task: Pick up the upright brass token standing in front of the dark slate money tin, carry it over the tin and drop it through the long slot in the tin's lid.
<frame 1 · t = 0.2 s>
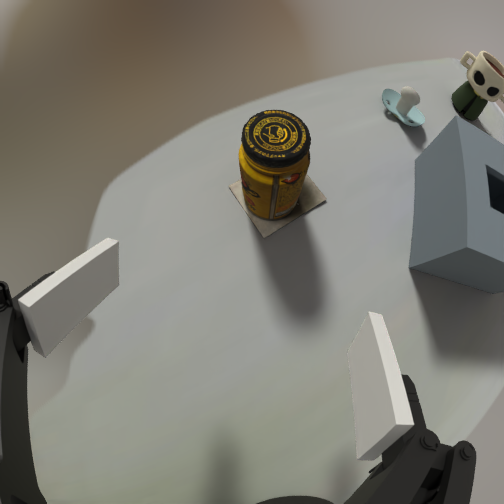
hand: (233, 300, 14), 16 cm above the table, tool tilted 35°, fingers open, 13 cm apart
money tin: (459, 227, 30), on the table
pacifier: (400, 112, 34), on the table
character mug: (462, 108, 35), on the table
condiment: (277, 193, 32), on the table
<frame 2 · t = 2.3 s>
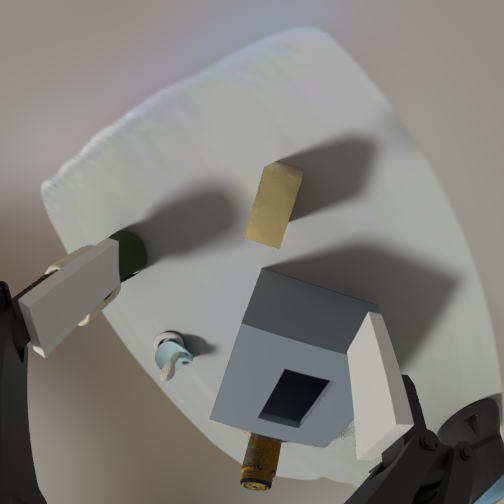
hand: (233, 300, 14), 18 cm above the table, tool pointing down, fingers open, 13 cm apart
brass token: (281, 192, 29), on the table
money tin: (299, 338, 36), on the table
pacifier: (174, 346, 41), on the table
character mug: (129, 250, 36), on the table
condiment: (265, 432, 46), on the table
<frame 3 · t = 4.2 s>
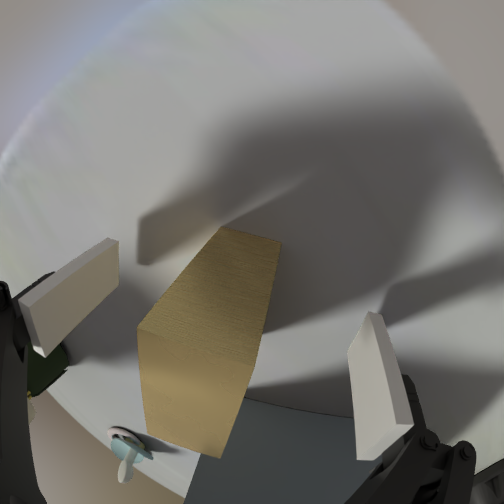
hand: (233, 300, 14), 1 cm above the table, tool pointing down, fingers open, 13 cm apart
brass token: (238, 287, 15), on the table
money tin: (288, 455, 21), on the table
pacifier: (131, 438, 27), on the table
character mug: (50, 341, 21), on the table
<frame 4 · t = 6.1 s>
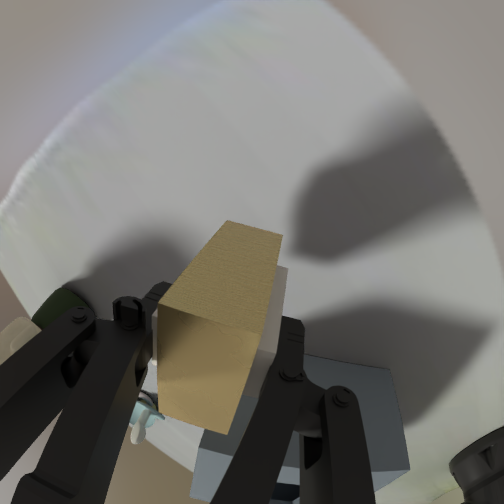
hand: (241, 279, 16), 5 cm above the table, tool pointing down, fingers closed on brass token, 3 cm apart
brass token: (242, 276, 16), point 4 cm above the table, touching gripper
money tin: (290, 405, 27), on the table
pacifier: (143, 401, 32), on the table
character mug: (77, 308, 26), on the table
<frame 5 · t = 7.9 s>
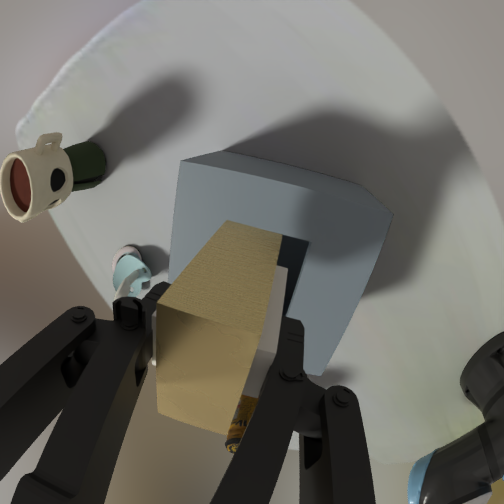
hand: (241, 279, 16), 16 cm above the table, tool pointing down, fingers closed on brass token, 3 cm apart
brass token: (242, 276, 16), point 16 cm above the table, touching gripper
money tin: (274, 236, 31), on the table
pacifier: (133, 266, 37), on the table
character mug: (91, 163, 31), on the table
condiment: (254, 384, 42), on the table
when the fingers open (14 cm above the table, at t = 9.6 s): brass token drops 12 cm, resting on money tin.
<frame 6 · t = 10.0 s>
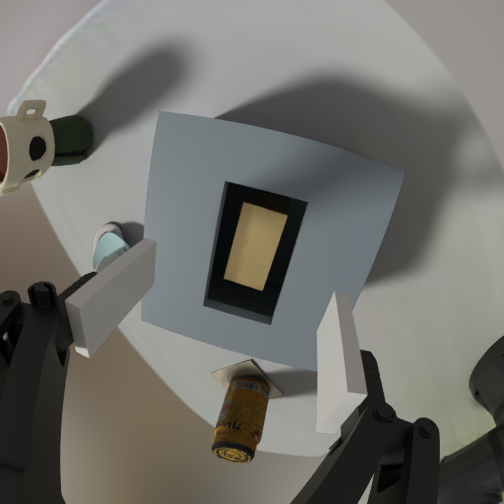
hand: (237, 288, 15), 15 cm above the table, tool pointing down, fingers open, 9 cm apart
brass token: (267, 217, 27), point 1 cm above the table, touching money tin
money tin: (269, 213, 28), on the table
pacifier: (115, 246, 33), on the table
character mug: (78, 139, 28), on the table
condiment: (247, 383, 38), on the table
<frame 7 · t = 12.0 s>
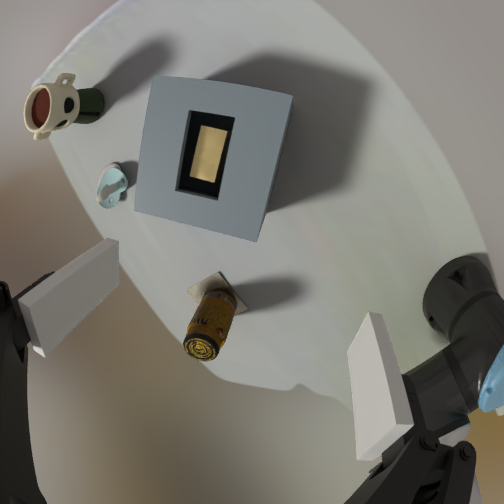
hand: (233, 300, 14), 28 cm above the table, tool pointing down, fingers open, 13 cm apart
brass token: (224, 148, 37), point 1 cm above the table, touching money tin
money tin: (227, 147, 38), on the table
pacifier: (115, 182, 43), on the table
character mug: (92, 105, 37), on the table
condiment: (217, 298, 49), on the table
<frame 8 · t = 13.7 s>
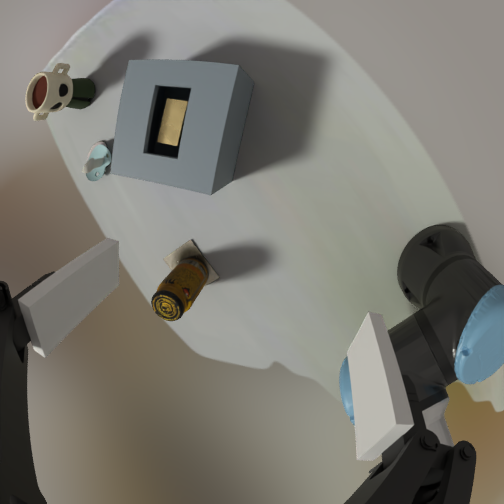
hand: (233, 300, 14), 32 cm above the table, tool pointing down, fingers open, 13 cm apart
brass token: (194, 123, 40), point 1 cm above the table, touching money tin
money tin: (196, 123, 40), on the table
pacifier: (101, 158, 46), on the table
character mug: (85, 93, 41), on the table
condiment: (191, 267, 51), on the table
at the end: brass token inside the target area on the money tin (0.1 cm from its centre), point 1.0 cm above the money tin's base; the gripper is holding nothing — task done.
